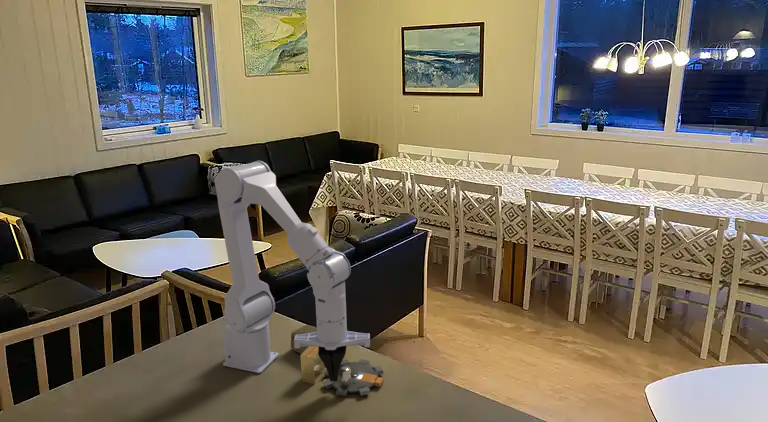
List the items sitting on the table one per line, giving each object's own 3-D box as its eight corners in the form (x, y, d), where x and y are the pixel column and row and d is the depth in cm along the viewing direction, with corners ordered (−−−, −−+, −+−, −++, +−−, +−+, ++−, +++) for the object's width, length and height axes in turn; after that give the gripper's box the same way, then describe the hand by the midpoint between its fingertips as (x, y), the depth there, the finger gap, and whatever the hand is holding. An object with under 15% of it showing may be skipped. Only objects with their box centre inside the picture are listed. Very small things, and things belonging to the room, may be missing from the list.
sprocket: (312, 389, 108) (311, 369, 107) (339, 358, 120) (338, 340, 118) (370, 401, 104) (370, 381, 103) (392, 368, 115) (392, 349, 114)
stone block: (326, 366, 117) (325, 346, 116) (288, 351, 124) (287, 331, 123) (343, 355, 122) (342, 335, 121) (306, 341, 128) (305, 321, 127)
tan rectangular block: (301, 381, 112) (300, 355, 110) (312, 369, 116) (310, 344, 114) (314, 384, 111) (313, 357, 109) (324, 372, 115) (323, 346, 113)
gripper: (290, 326, 100) (294, 390, 104) (368, 324, 100) (370, 389, 104) (295, 309, 107) (299, 370, 111) (369, 308, 107) (370, 369, 111)
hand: (334, 378), depth 108 cm, fingers closed
